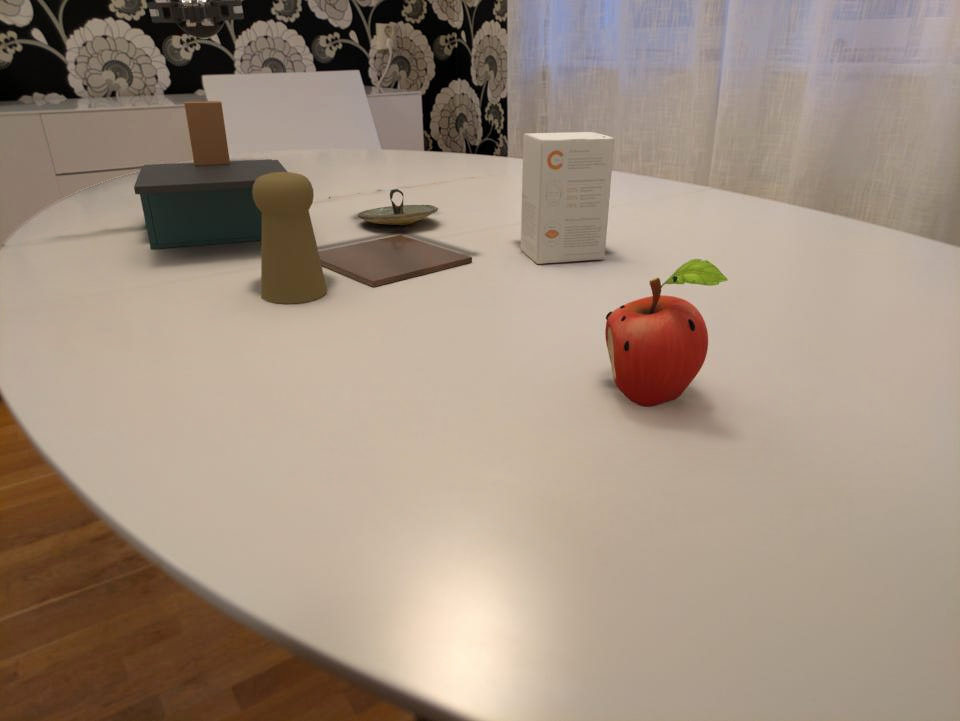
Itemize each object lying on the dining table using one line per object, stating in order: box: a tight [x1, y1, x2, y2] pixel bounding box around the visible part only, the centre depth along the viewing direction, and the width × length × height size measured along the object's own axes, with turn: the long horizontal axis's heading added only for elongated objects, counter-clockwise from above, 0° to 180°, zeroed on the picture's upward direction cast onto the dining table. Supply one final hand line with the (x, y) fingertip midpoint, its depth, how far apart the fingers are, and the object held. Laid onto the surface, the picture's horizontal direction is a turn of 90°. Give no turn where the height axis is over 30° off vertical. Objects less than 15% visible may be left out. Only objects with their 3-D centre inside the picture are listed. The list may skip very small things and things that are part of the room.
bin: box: [139, 158, 273, 250], centre depth 83 cm, size 16×14×8 cm
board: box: [318, 234, 473, 288], centre depth 73 cm, size 13×13×1 cm
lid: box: [357, 188, 439, 226], centre depth 88 cm, size 11×10×5 cm
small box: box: [520, 131, 615, 265], centre depth 73 cm, size 8×6×13 cm
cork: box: [252, 171, 328, 305], centre depth 61 cm, size 6×6×11 cm
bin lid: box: [133, 100, 288, 195], centre depth 75 cm, size 16×14×8 cm
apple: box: [604, 258, 729, 408], centre depth 42 cm, size 8×7×10 cm
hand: (194, 13), depth 88 cm, fingers closed
